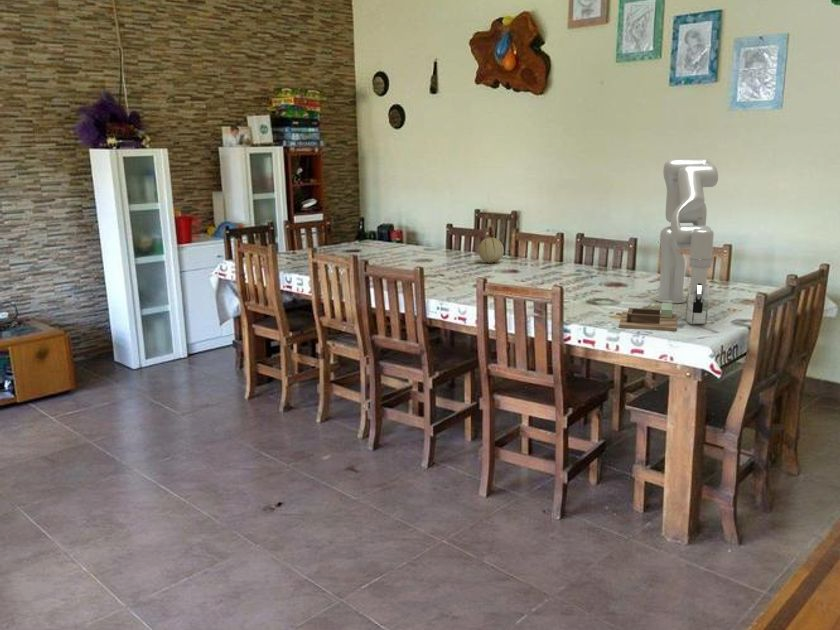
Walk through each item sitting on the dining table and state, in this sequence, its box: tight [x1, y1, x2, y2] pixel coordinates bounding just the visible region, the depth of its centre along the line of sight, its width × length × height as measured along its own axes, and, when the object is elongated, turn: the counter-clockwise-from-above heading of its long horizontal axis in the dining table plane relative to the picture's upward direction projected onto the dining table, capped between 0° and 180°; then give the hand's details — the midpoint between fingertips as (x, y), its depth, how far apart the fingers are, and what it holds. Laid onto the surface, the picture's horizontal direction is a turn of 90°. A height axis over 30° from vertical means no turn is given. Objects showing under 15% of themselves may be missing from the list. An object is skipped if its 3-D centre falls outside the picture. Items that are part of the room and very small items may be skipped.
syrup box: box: [685, 283, 710, 325], centre depth 269 cm, size 6×6×14 cm
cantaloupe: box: [477, 236, 505, 264], centre depth 414 cm, size 15×15×15 cm
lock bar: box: [660, 302, 674, 318], centre depth 280 cm, size 13×4×3 cm, turn 162°
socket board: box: [618, 307, 678, 332], centre depth 274 cm, size 22×20×4 cm
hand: (696, 309), depth 269 cm, fingers closed on syrup box, 7 cm apart
